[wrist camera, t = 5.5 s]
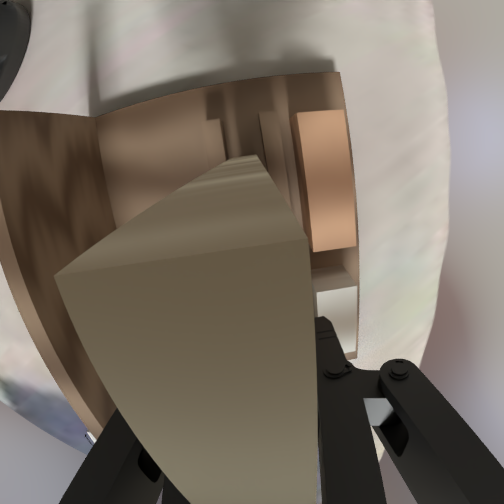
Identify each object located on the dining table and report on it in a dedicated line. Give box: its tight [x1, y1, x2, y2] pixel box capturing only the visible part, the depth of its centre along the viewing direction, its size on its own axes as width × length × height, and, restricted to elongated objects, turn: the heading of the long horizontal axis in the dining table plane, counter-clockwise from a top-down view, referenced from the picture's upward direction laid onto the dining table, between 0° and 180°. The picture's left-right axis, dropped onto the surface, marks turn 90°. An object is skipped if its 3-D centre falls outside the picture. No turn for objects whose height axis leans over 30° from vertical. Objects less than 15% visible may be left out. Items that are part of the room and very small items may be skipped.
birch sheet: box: [54, 155, 318, 504], centre depth 12 cm, size 14×2×18 cm, turn 9°
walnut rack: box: [0, 72, 359, 440], centre depth 19 cm, size 26×21×14 cm
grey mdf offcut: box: [311, 265, 357, 353], centre depth 23 cm, size 6×3×4 cm, turn 9°
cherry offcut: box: [289, 110, 356, 252], centre depth 20 cm, size 9×3×4 cm, turn 9°
